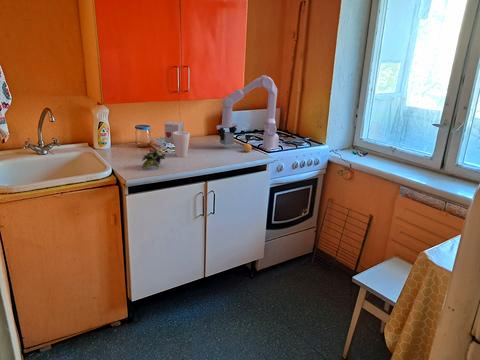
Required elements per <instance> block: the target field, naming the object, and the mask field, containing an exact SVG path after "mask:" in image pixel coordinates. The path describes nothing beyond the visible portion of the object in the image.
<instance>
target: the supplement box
mask: <svg viewBox="0 0 480 360" xmlns="http://www.w3.org/2000/svg"><path fill="white" fill-rule="evenodd" d="M175 131H185V130H184V121H175V120H169V121H167V122H165V123H164V143H165V142H166V143H171V144H174V139H173V132H175Z"/></svg>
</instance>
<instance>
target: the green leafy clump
mask: <svg viewBox="0 0 480 360" xmlns="http://www.w3.org/2000/svg"><path fill="white" fill-rule="evenodd" d="M162 160H166V153H165V152H162V151H161V150H158V149H157V148H152V149H149V152H146V154H145V155H143V157H142V159H141V161H142V162H143V161H144V162H143V163H142V166H141V168H142V169H144V168H148V167H149V166H151V165H153V166H154V167H156V170H158V169H159V166H160V164H161V162H162Z"/></svg>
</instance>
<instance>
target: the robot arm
mask: <svg viewBox="0 0 480 360" xmlns="http://www.w3.org/2000/svg"><path fill="white" fill-rule="evenodd" d="M262 87H263V88H265V90H266V91H267V92H268V97H267V107H266V118H265V119H264V120H265V122H264V124H263V126H262V127H263V130H264V132H263V138H262V139H263V141H262V145H261V146H259V148H261V149H264V150H267V151H269V150H277V149H280V147H279V141H280V137H279V135H278V133H277V127H276V111H277V110H276V109H277V98H278V88H277V85H276V84H275V83H274V80H273V79H272V78H271V77H270V76H267V75H264V74H263V75H261V76H260V77H257V78H255V79H253V80H252V81H250V83H249V84H247V85H245V87H243V88H241V89H235V90H233V91H234V92H232V93H231V94H227V96H226V97H223V98H222V105H223V106H222V124H218V125H216V130H217V132H218V134H219V139H220V138H221V140H222V141H224V133H225V132H226V129H228V132H231V133H234V134H235V133H236V131H237V129H238V127H239V124H238V123H233V106H234V104H236V103H238V102H239V101H240V100H242V99H244V97H245V94H247V93H249V92H250V91H252V90H255V88H262Z"/></svg>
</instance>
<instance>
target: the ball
mask: <svg viewBox="0 0 480 360" xmlns="http://www.w3.org/2000/svg"><path fill="white" fill-rule="evenodd" d="M252 148H253V147H252V145H251V144H250V143H245V144H243V147H242V149H243V151H244V152H251V150H252Z"/></svg>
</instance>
